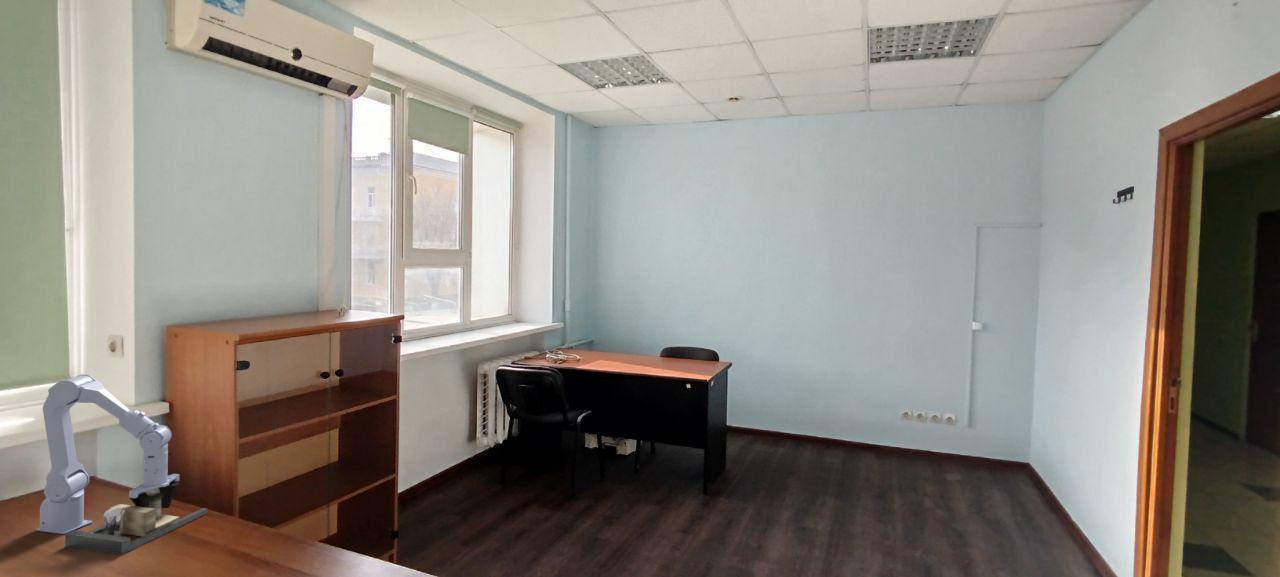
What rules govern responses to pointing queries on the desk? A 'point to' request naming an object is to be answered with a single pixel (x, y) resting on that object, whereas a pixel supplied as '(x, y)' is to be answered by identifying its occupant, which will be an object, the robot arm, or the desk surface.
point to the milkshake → (114, 521)
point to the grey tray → (120, 544)
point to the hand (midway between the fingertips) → (154, 512)
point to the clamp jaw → (145, 517)
